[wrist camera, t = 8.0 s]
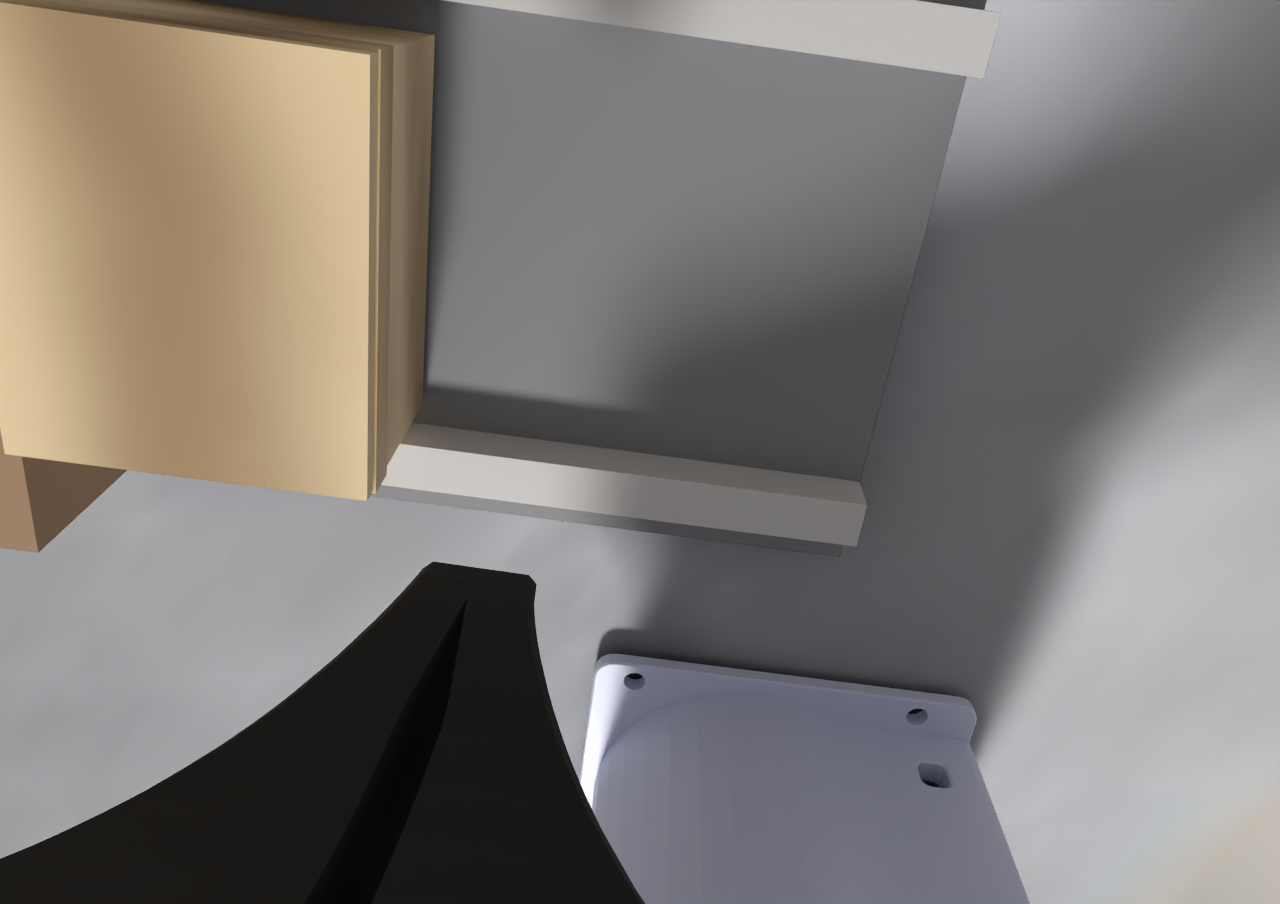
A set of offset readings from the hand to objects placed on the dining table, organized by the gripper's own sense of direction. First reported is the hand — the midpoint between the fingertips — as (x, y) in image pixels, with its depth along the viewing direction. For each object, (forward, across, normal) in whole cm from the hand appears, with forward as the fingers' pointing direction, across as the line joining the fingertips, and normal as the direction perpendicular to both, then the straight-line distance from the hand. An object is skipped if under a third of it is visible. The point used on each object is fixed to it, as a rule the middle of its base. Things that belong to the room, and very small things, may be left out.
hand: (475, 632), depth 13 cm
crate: (+8, +6, -3) cm, 10 cm away
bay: (+9, +2, -3) cm, 10 cm away
